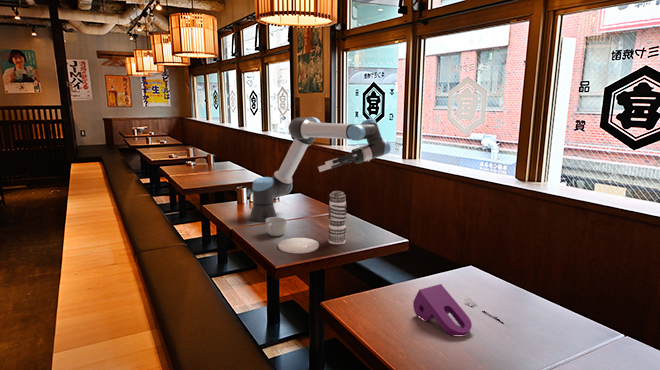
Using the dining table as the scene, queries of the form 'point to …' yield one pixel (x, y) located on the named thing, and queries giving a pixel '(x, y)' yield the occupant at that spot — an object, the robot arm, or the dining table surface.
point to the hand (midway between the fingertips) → (322, 167)
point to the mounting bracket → (441, 309)
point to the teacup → (275, 226)
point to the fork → (473, 303)
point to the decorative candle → (337, 217)
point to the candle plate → (298, 245)
